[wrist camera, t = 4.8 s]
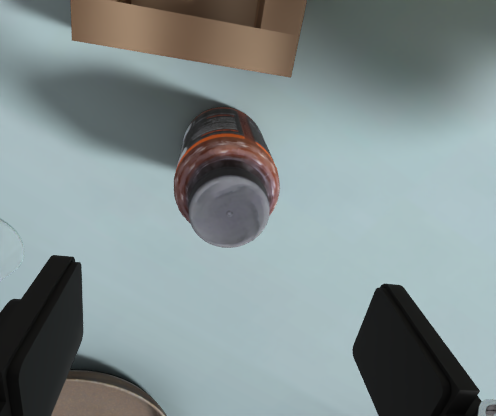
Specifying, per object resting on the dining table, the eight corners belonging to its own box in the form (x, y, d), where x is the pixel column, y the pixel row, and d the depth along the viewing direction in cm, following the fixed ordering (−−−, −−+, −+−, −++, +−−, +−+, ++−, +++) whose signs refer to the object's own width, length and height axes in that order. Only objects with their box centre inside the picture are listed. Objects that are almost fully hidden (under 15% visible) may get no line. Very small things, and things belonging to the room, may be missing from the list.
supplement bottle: (166, 139, 27) (138, 205, 17) (229, 87, 26) (238, 126, 16) (218, 195, 30) (220, 283, 19) (277, 151, 28) (313, 219, 18)
